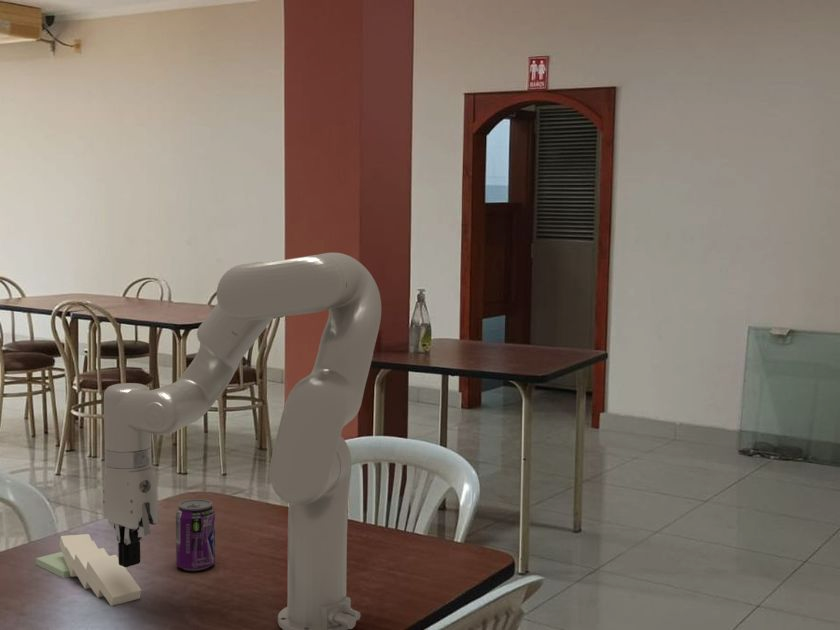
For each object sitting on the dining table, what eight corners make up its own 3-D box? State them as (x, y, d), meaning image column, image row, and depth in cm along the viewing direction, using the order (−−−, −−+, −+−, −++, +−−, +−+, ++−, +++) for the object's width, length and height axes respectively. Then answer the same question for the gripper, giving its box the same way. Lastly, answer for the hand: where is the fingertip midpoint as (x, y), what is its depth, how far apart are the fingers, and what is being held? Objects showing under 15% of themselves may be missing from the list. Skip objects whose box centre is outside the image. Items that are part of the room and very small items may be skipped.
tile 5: (89, 564, 188) (62, 551, 194) (63, 571, 184) (36, 558, 191) (90, 574, 188) (62, 560, 195) (63, 581, 184) (36, 567, 191)
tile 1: (141, 590, 175) (115, 554, 181) (112, 597, 171) (87, 561, 177) (139, 598, 175) (114, 562, 182) (111, 606, 172) (86, 569, 178)
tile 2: (127, 582, 178) (103, 547, 184) (99, 589, 175) (75, 553, 181) (126, 590, 179) (101, 555, 185) (97, 597, 175) (74, 562, 182)
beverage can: (205, 574, 187) (205, 510, 186) (169, 571, 188) (169, 507, 187) (221, 561, 194) (220, 499, 193) (186, 558, 195) (185, 497, 194)
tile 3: (115, 574, 182) (93, 540, 188) (86, 581, 178) (65, 546, 185) (113, 582, 182) (91, 548, 189) (85, 589, 179) (64, 553, 185)
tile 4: (101, 565, 185) (89, 533, 193) (72, 568, 183) (60, 535, 190) (100, 573, 186) (87, 541, 194) (71, 576, 183) (59, 544, 191)
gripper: (173, 461, 169) (174, 569, 171) (122, 446, 179) (124, 548, 181) (134, 470, 163) (135, 581, 165) (83, 454, 173) (85, 559, 175)
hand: (129, 564), depth 173 cm, fingers closed
